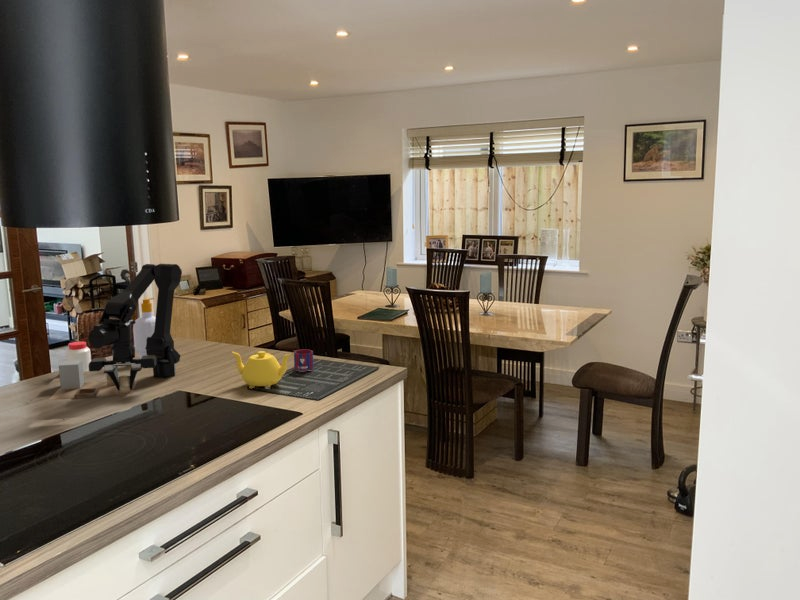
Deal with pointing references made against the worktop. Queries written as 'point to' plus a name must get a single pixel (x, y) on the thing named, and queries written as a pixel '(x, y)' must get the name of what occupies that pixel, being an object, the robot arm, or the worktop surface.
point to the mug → (303, 360)
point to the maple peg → (124, 384)
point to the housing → (71, 374)
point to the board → (89, 391)
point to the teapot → (261, 369)
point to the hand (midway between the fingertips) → (125, 389)
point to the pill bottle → (79, 354)
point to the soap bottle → (143, 327)
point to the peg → (109, 381)
